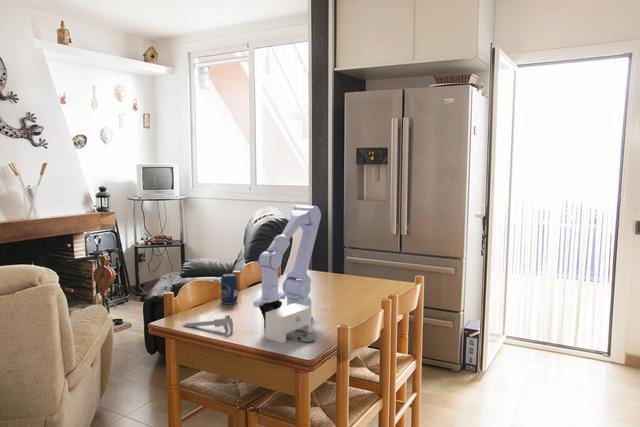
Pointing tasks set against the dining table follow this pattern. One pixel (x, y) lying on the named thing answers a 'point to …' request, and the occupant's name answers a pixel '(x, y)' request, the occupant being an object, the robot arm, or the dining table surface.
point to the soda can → (229, 288)
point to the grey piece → (292, 334)
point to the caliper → (214, 323)
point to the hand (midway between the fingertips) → (270, 322)
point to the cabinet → (287, 321)
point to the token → (306, 338)
